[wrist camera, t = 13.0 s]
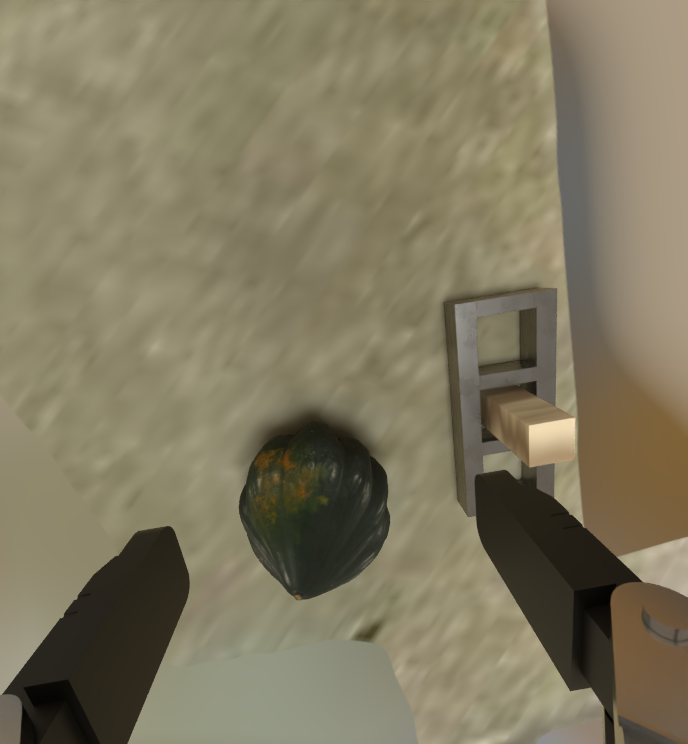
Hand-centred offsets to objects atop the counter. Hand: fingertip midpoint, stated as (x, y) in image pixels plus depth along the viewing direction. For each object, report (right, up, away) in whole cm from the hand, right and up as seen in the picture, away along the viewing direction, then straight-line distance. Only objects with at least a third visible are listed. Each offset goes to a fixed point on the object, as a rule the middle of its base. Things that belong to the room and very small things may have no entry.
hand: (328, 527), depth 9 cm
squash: (-3, -7, +31) cm, 32 cm away
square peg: (+18, +1, +30) cm, 35 cm away
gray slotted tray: (+17, +1, +30) cm, 35 cm away
